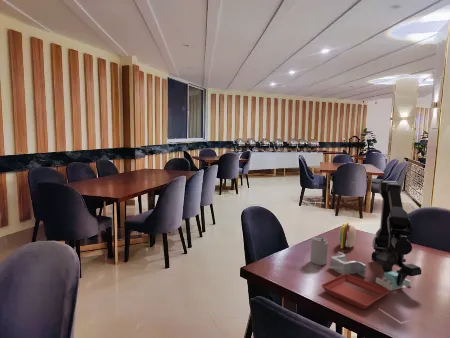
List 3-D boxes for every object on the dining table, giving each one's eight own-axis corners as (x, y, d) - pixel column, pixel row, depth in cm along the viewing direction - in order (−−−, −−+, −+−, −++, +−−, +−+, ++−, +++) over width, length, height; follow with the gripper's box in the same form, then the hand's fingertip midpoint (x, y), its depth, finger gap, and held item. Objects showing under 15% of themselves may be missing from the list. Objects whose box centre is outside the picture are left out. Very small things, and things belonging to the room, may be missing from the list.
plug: (394, 280, 127) (395, 270, 127) (402, 285, 124) (403, 274, 123) (381, 283, 125) (382, 272, 124) (389, 288, 121) (390, 277, 121)
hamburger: (352, 251, 162) (354, 229, 160) (336, 247, 166) (337, 226, 165) (357, 244, 172) (358, 224, 170) (341, 241, 176) (343, 221, 175)
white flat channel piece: (395, 279, 130) (395, 273, 130) (410, 287, 123) (411, 281, 123) (375, 283, 126) (376, 277, 126) (390, 291, 119) (390, 285, 119)
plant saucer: (344, 280, 129) (345, 272, 128) (389, 298, 115) (390, 289, 115) (319, 293, 117) (320, 285, 117) (366, 315, 103) (367, 305, 103)
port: (338, 262, 146) (339, 251, 145) (365, 277, 131) (366, 265, 130) (324, 264, 143) (324, 253, 142) (349, 280, 128) (350, 267, 127)
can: (327, 266, 141) (329, 241, 139) (310, 265, 142) (312, 240, 141) (325, 260, 148) (327, 236, 147) (309, 258, 150) (311, 235, 148)
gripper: (362, 240, 129) (360, 275, 130) (402, 256, 111) (399, 297, 113) (382, 237, 133) (379, 272, 134) (424, 253, 115) (420, 292, 117)
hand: (393, 282), depth 124 cm, fingers open, 5 cm apart
